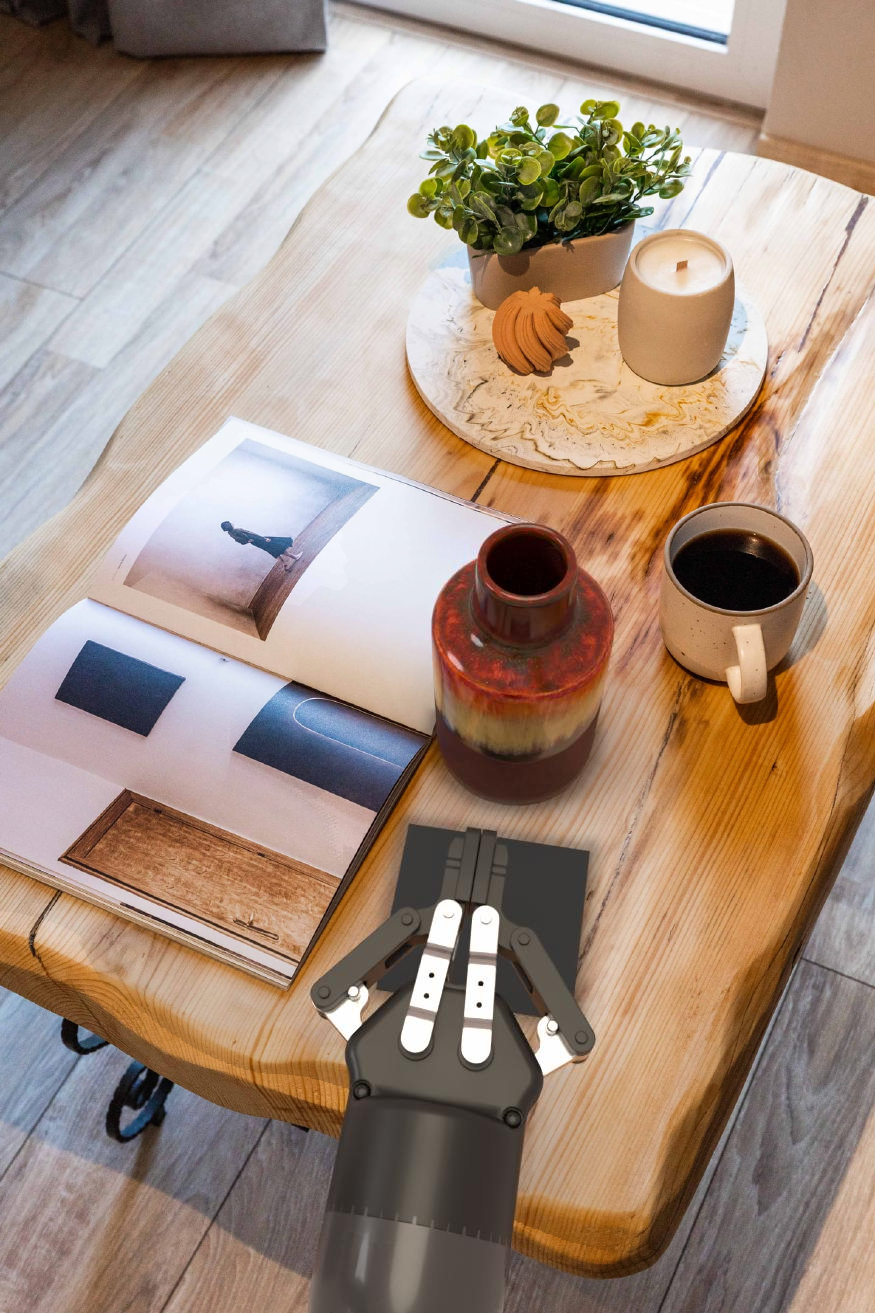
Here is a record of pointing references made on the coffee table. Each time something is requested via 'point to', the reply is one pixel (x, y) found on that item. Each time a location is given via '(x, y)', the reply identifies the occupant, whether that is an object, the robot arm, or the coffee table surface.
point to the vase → (520, 666)
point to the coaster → (534, 897)
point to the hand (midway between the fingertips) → (481, 834)
